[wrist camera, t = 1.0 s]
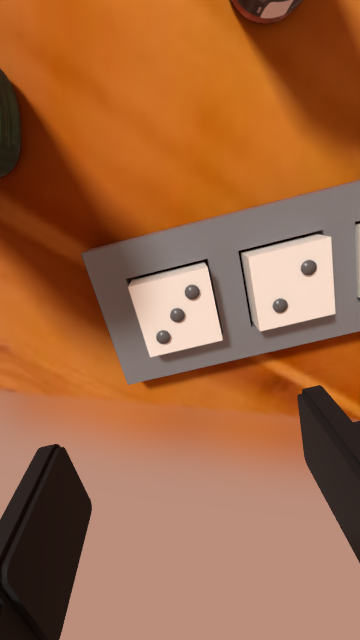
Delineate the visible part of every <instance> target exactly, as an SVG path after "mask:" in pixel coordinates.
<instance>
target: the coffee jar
mask: <svg viewBox="0 0 360 640" xmlns="http://www.w3.org/2000/svg"><path fill="white" fill-rule="evenodd" d="M20 149H21V122H20V113H19V107H18V102H17V98H16V94H15V91H14V89H13V87H12V84H11V82H10V81H9V79H8V78H7V76H6V75H5V73H4V72H3V71H2V70H1V69H0V177H3V176H5V175H6V174H8V173H9V172H10V171H12V169H13V168H14V167H15V165H16V163H17V161H18V158H19V155H20Z"/></svg>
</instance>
